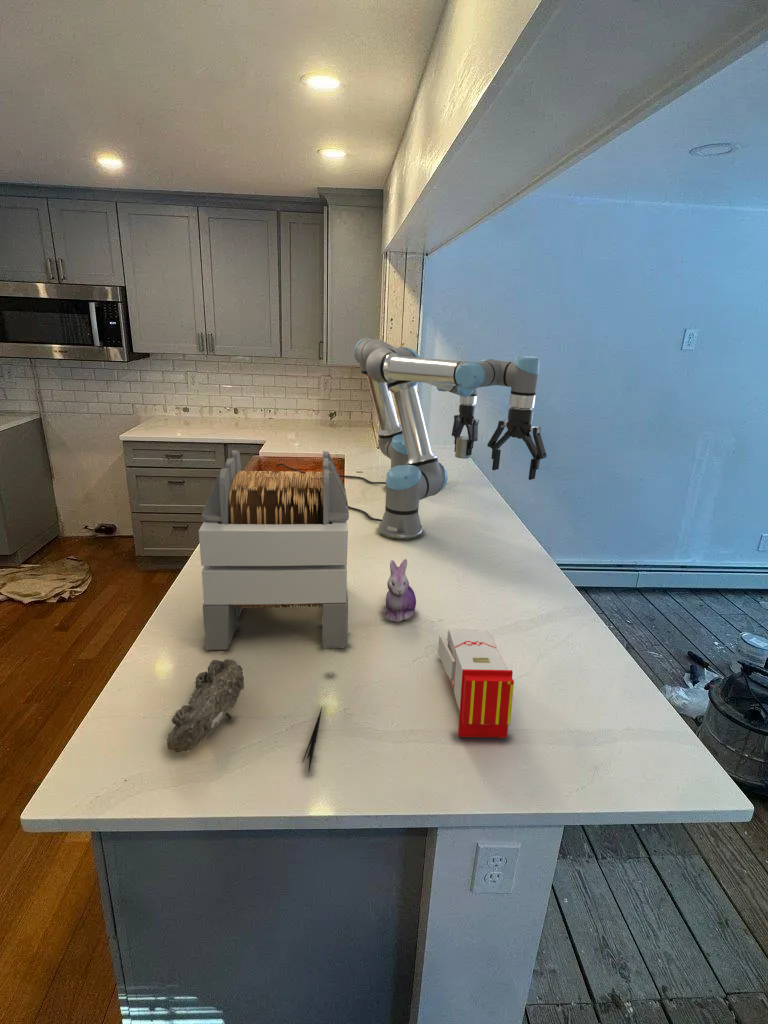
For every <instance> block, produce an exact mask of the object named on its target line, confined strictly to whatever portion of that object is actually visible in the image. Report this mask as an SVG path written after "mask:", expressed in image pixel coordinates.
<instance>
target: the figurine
mask: <svg viewBox="0 0 768 1024" xmlns="http://www.w3.org/2000/svg"><path fill="white" fill-rule="evenodd" d="M407 567H408V559H406V558H404V559H403V560H402V561H401V563H400V565H399V566H398V565H397V563H396V562H395V561H394V560H393V559H391V560H390V561H389V570H390V576H389V578H388V579H387V589H388V591H387V592H386V594H385V595H386V596H385V607H384V615H385V616H386V620H387V621H391V622H395V623H400V622H402V621H406V620H409V619H410V618H411V617H413V616H414V615H415V610H416V606H417V597H416V593H415V591H414V590H413V587H411V586H410V582H409V579H408V577H407V574H406V571H407Z"/></svg>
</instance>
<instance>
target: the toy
mask: <svg viewBox="0 0 768 1024" xmlns="http://www.w3.org/2000/svg"><path fill="white" fill-rule="evenodd" d="M446 640H447V643H446V641H445V639H444V636H443V635H442V634H439V637H438V646H437V656H438V657H439V659H440V661H441V663H442V666H443V668H444V670H445V672H446V674H447V677H448V679H449V681H450V684H451V687H452V690H453V693H454V697H455V701H456V705H457V708H458V711H459V714H458V715H459V716H458V730H457V731H458V732H457V737H458V738H508V731H509V726H510V725H511V717H512V707H513V697H514V696H513V695H514V684H515V680H514V679H513V673H514V671H513V670H512V669H508V667H507V665H506V662H505V661H504V659H503V658H502V655H501V653H500V651H499V649H498V647H497V643H496V639H495V637H494V635H493V634H491V632H490V631H489V629H467V628H466V629H465V628H463V629H461V628H460V629H459V628H448V630H447V639H446Z"/></svg>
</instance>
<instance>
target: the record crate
mask: <svg viewBox="0 0 768 1024" xmlns="http://www.w3.org/2000/svg"><path fill="white" fill-rule="evenodd" d="M241 463H242V462H241V453H240V449H238V450H236V449H232V450H231V452H230V454H229V456H228V457H227V458H226V461H225V463H224V465H223V467H222V468H220V471H219V473H218V475H217V478H216V480H215V482H214V484H213V487H212V489H211V491H210V494H209V496H208V498H207V500H206V503H205V505H204V507H203V509H202V512H201V519H202V521H203V522H202V524H201V526H200V528H199V529H198V537H199V538H198V540H199V555H200V566H201V567H203V568H202V570H201V580H202V597H203V603H202V617H203V618H202V619H203V629H204V638H205V646H204V648H205V651H213V650H216V651H217V650H224V651H226V650H228V649H229V647H230V645H231V642H232V639H233V638H234V635H235V632H236V630H237V627H238V620H237V619H239V618H240V617H241V612H242V609H244V608H245V609H251V608H252V609H261V608H263V609H266V608H267V609H268V608H278V609H279V608H297V607H298V608H311V607H312V608H316V607H318V608H321V616H322V619H321V620H322V621H321V622H322V625H321V626H322V627H321V629H322V630H321V631H322V635H321V636H322V637H321V639H322V648H323V649H324V648H325V649H329V648H330V649H331V648H332V649H333V648H336V649H337V648H338V649H345V648H346V647H347V646H348V645H349V644H348V643H349V642H348V641H349V597H348V587H347V586H348V585H347V584H348V566H347V565H348V548H349V547H348V546H349V544H348V543H349V542H348V541H349V528H348V522H347V521H348V520H349V518H350V510H349V508H348V506H349V505H348V498H347V491H346V490H347V489H346V487H345V485H344V482H343V481H342V477H340V476H339V475H340V474H339V472H338V469H337V467H336V466H335V463H334V460H333V458H332V457H331V454H330V452H329V450H328V451H327V450H323V451H322V471H315V472H314V471H305V472H306V473H305V474H304V473H300V472H297V471H294V470H292V471H287V470H286V471H284V470H282V471H276V472H275V471H272V470H269V471H267V470H259V471H258V470H249V471H248V470H242V466H241ZM314 473H315V474H314Z"/></svg>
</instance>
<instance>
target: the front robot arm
mask: <svg viewBox="0 0 768 1024" xmlns="http://www.w3.org/2000/svg"><path fill="white" fill-rule="evenodd" d="M366 370H367V373H368V375H369V376H370V377H371V378H372V379H373V380H374V381H376V382H380V383H387V387H388V390H389V391H391V394H393V398H394V402H395V405H396V406H395V408H396V410H397V411H396V412H397V416H398V420H399V424H400V425H401V428H402V432H403V436H404V440H405V444H406V449H407V453H408V457H409V459H408V461H407V463H406V465H403V466H402V465H399V466H395V467H393V468H391V467H390V469H389V470H388V471H387V474H386V479H385V482H386V484H385V504H384V505H385V507H384V508H385V509H384V513H383V515H382V519H381V518H376V517H372V516H370V515H369V513H368V512H367V511H365V510H362V509H360V508H356V507H354V506H353V507H352V506H349V505H348V510H349V509H350V510H352V511H357V512H360V513H362V514H363V515H365V516H366V517H367V518H368V519H369V520H372V521H376V522H379V525H378V533H379V534H380V535H381V536H382V537H385V538H387V539H389V540H395V541H410V540H415V539H418V538H420V537H421V536H422V535H423V525H422V524H421V518H420V515H419V507H420V506H419V505H420V501H421V500H423V499H427V498H429V497H432V496H436V495H438V494H439V493H441V492H442V491H444V489H445V488H446V485H447V483H448V478H449V477H448V470H447V469H446V466H444V465H443V464H442V463H440V462H439V458H438V455H436V454H435V453H433V452H432V448H431V443H430V439H429V435H428V431H427V426H426V421H425V418H424V413H423V409H422V405H421V400H420V396H419V391H418V385H419V384H420V383H425V384H428V383H433V384H443V385H453V386H460V387H462V388H465V389H475V388H478V389H480V388H484V387H491V386H501V387H508V388H510V395H509V402H508V406H509V408H508V413H507V420H505V419H501V420H499V421H498V423H497V427H496V429H495V431H494V432H493V434H492V436H491V437H490V439H489V440H488V442H487V447H488V448H490V449H491V457H490V458H491V460H492V467H491V470H492V471H497V470H500V462H501V453H502V452H501V451H502V450H501V449H500V448H501V447H502V446H503V445H505V443H506V442H507V441H508V440H509V439H510V438H516V439H518V440H522V441H523V442H524V443H525V445H526V447H527V449H528V451H529V453H530V454H531V457H532V458H531V459H530V465H529V472H528V480H529V481H532V480H535V479H536V475H537V470H539V469H540V464H541V460H543V459H546V458H547V452H546V449H545V445H544V441H543V439H542V433H541V432H542V431H541V430H542V429H541V426H540V425H539V426H532V422H533V418H534V408H535V403H536V394H537V386H538V381H539V380H538V379H539V375H540V359H539V357H537V356H530V355H516V356H514V360H513V361H506V360H497V359H492V358H491V359H488V358H487V359H481V360H480V361H468V360H452V359H438V358H425V357H420V355H419V353H418V352H416V351H415V350H414V349H412V348H411V347H404V346H398V347H395V348H379V349H376V350H374V351H373V352H372V353H371V354H370V355H369V356H368V358H367V361H366ZM505 428H506V429H507V431H505V432H504V430H505ZM503 432H504V433H503ZM530 432H531V433H530ZM502 433H503V435H502ZM531 434H532V435H531ZM501 435H502V436H501Z"/></svg>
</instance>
